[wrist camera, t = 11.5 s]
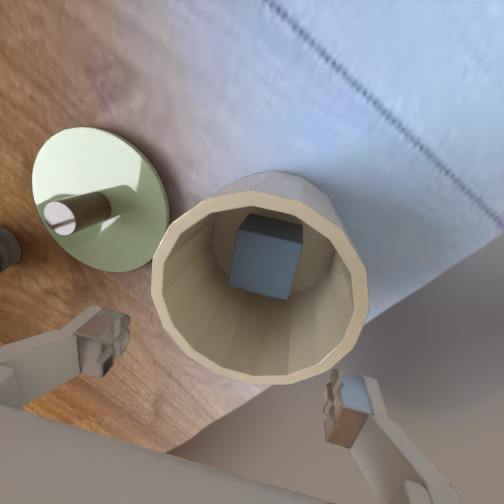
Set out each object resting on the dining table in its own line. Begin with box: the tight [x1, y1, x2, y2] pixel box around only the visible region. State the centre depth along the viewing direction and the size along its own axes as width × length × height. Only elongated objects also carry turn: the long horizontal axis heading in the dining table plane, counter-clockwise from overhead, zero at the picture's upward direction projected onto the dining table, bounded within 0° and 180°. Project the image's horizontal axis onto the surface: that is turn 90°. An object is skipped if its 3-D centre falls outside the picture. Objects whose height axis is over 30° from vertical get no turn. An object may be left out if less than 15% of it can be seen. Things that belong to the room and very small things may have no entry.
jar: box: [151, 171, 370, 385], centre depth 19 cm, size 11×11×10 cm
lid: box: [32, 127, 170, 272], centre depth 22 cm, size 12×12×5 cm
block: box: [228, 213, 303, 300], centre depth 21 cm, size 4×4×4 cm
